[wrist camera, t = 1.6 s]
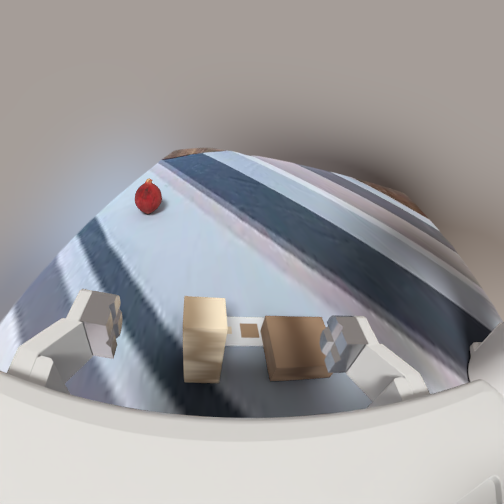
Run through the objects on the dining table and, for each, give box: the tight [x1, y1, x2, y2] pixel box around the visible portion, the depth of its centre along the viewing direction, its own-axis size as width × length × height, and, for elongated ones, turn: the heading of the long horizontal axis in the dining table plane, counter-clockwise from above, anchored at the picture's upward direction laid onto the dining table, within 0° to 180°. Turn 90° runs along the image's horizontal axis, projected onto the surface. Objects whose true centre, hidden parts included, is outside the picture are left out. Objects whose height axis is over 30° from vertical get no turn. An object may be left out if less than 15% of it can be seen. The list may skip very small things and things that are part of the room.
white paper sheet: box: [225, 317, 265, 346], centre depth 38 cm, size 8×5×1 cm, turn 97°
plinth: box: [260, 316, 333, 381], centre depth 35 cm, size 8×8×3 cm
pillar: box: [183, 296, 228, 383], centre depth 29 cm, size 4×4×10 cm
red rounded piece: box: [135, 178, 162, 214], centre depth 57 cm, size 6×6×8 cm
